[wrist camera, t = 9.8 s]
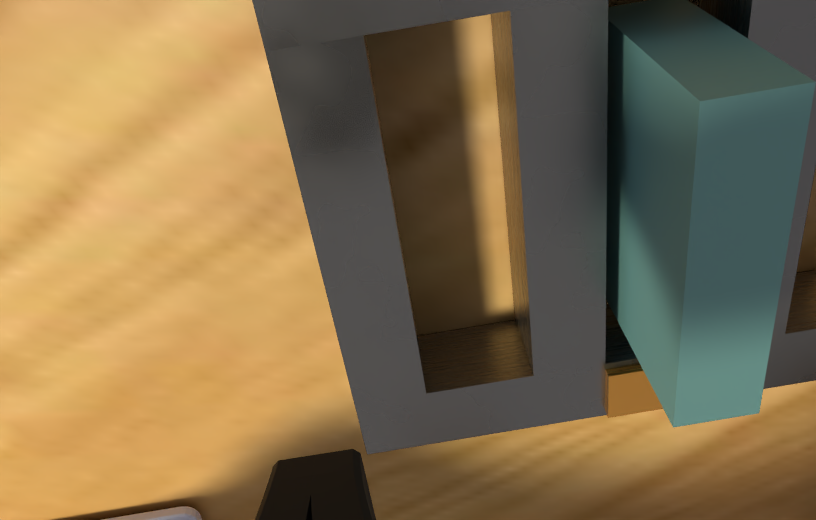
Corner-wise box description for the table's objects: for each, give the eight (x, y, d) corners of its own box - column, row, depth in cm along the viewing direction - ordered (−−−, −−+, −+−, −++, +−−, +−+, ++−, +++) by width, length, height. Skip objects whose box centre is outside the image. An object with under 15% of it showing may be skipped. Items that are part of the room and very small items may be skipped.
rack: (891, 306, 24) (953, 365, 21) (364, 394, 24) (367, 462, 21) (1036, -210, 16) (1156, -206, 14) (251, -76, 16) (237, -50, 14)
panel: (662, 268, 22) (759, 413, 17) (595, 279, 22) (673, 427, 17) (678, -6, 18) (815, 82, 13) (595, 8, 18) (699, 101, 13)
